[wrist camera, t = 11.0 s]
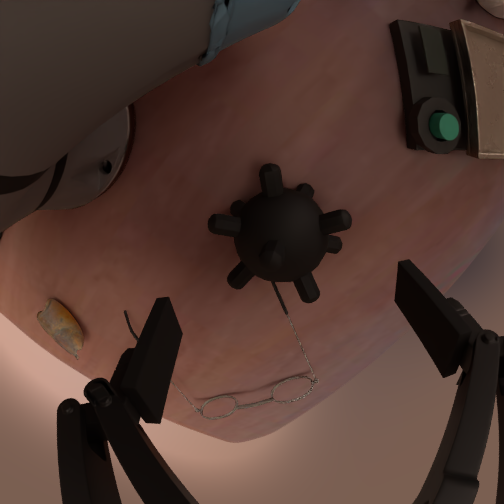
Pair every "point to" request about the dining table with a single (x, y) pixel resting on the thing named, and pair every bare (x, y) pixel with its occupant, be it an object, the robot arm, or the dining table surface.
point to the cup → (493, 7)
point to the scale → (427, 88)
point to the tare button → (444, 126)
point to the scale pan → (474, 82)
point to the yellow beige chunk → (61, 326)
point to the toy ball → (280, 234)
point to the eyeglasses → (233, 397)
